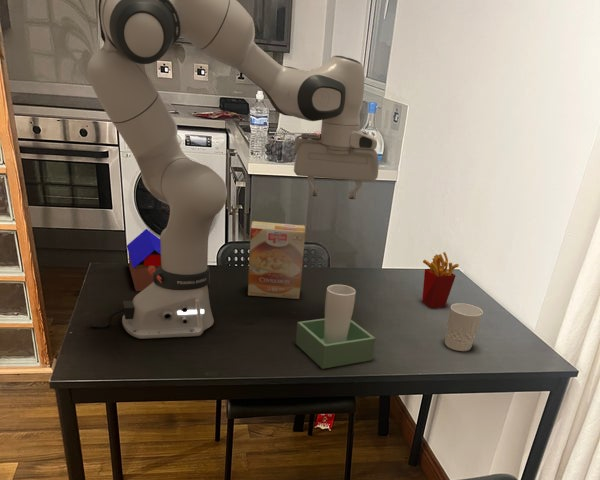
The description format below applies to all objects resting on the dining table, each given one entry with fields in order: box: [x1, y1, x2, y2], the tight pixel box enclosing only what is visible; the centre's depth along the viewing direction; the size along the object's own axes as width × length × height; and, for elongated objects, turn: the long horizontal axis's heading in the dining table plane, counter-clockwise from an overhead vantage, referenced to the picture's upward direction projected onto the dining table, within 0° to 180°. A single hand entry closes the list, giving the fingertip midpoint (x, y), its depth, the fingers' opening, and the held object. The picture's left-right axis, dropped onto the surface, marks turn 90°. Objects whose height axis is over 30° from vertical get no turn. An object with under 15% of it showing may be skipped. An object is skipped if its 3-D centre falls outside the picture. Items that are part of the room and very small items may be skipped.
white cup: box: [444, 302, 484, 352], centre depth 151 cm, size 8×8×10 cm
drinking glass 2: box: [323, 284, 357, 344], centre depth 140 cm, size 7×7×15 cm
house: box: [126, 228, 161, 292], centre depth 173 cm, size 12×20×12 cm, turn 19°
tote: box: [295, 318, 377, 370], centre depth 143 cm, size 14×14×6 cm
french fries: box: [421, 251, 460, 309], centre depth 173 cm, size 9×8×15 cm
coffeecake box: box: [247, 220, 306, 300], centre depth 169 cm, size 15×7×20 cm, turn 91°
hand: (332, 197), depth 147 cm, fingers open, 8 cm apart
